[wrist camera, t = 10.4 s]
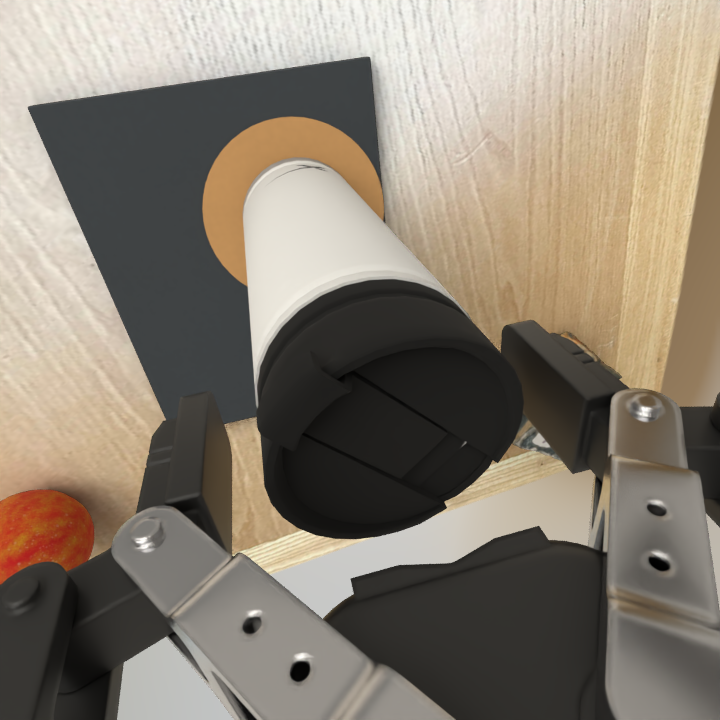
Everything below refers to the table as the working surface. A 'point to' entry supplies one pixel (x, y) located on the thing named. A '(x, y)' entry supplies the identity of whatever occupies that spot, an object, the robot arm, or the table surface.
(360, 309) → the travel mug
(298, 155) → the mat
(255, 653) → the robot arm
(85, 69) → the table surface
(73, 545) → the fruit
